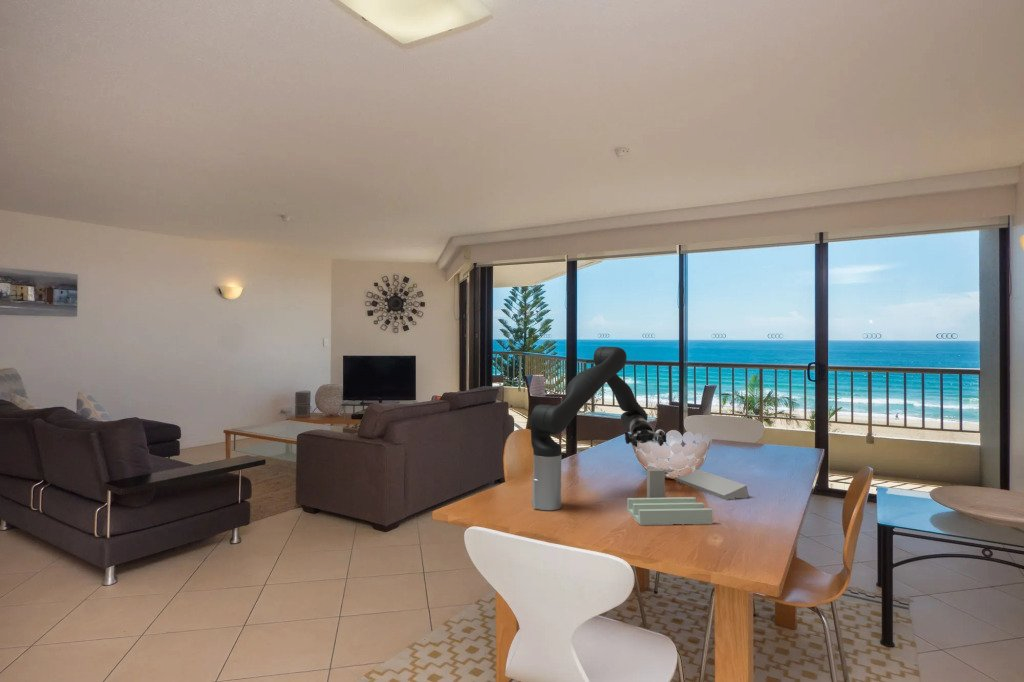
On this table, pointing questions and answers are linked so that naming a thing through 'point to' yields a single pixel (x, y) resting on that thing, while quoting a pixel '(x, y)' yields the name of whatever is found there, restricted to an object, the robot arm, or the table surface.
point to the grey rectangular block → (655, 483)
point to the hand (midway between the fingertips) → (648, 443)
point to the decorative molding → (714, 485)
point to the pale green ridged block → (668, 511)
